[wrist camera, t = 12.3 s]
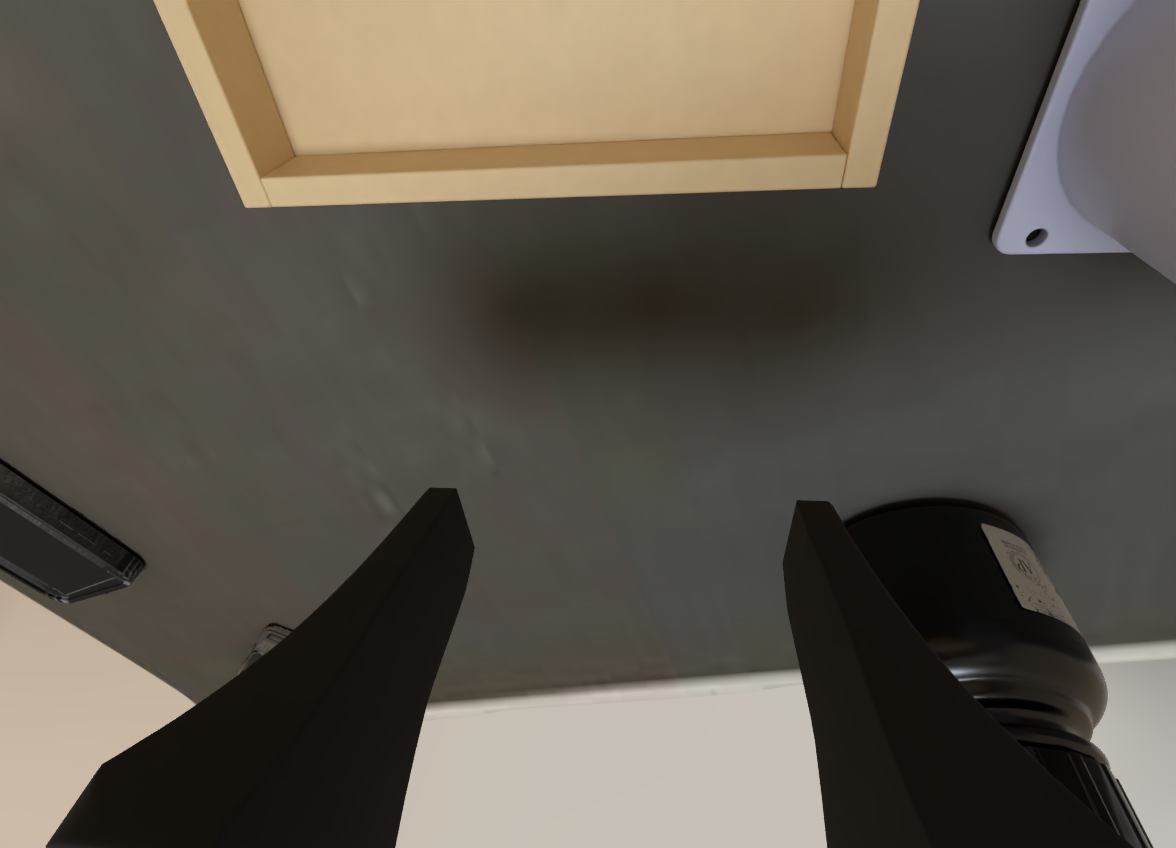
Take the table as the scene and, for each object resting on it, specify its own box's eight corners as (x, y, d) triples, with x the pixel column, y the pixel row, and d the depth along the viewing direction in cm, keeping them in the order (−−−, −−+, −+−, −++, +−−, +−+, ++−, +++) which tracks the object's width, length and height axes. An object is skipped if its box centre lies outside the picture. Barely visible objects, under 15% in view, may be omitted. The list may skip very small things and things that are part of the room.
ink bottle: (1001, 621, 29) (1152, 948, 19) (808, 625, 31) (865, 923, 21) (1052, 481, 23) (1305, 856, 14) (809, 498, 25) (887, 834, 16)
